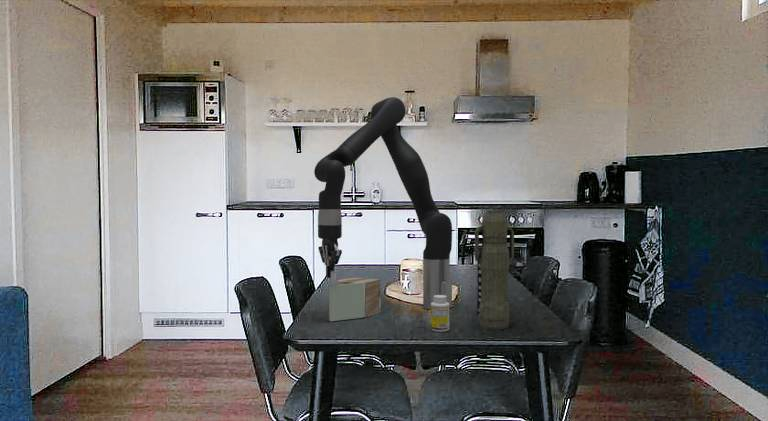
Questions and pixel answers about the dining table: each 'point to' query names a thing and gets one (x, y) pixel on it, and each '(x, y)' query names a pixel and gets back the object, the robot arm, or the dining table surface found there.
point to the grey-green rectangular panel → (346, 300)
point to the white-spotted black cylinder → (478, 287)
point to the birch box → (368, 293)
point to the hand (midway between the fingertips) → (330, 277)
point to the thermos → (494, 269)
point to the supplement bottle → (440, 314)
